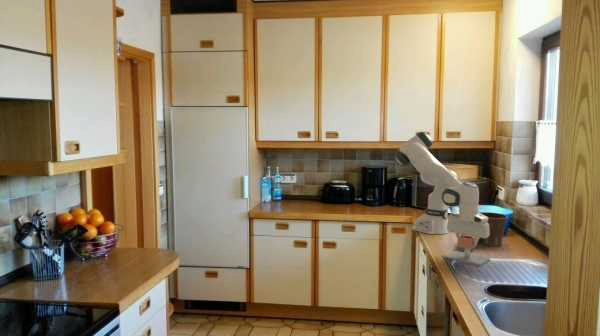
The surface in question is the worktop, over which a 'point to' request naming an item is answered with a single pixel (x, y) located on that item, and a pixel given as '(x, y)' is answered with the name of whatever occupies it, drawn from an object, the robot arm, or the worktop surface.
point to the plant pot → (494, 229)
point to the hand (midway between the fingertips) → (467, 243)
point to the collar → (466, 241)
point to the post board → (467, 258)
